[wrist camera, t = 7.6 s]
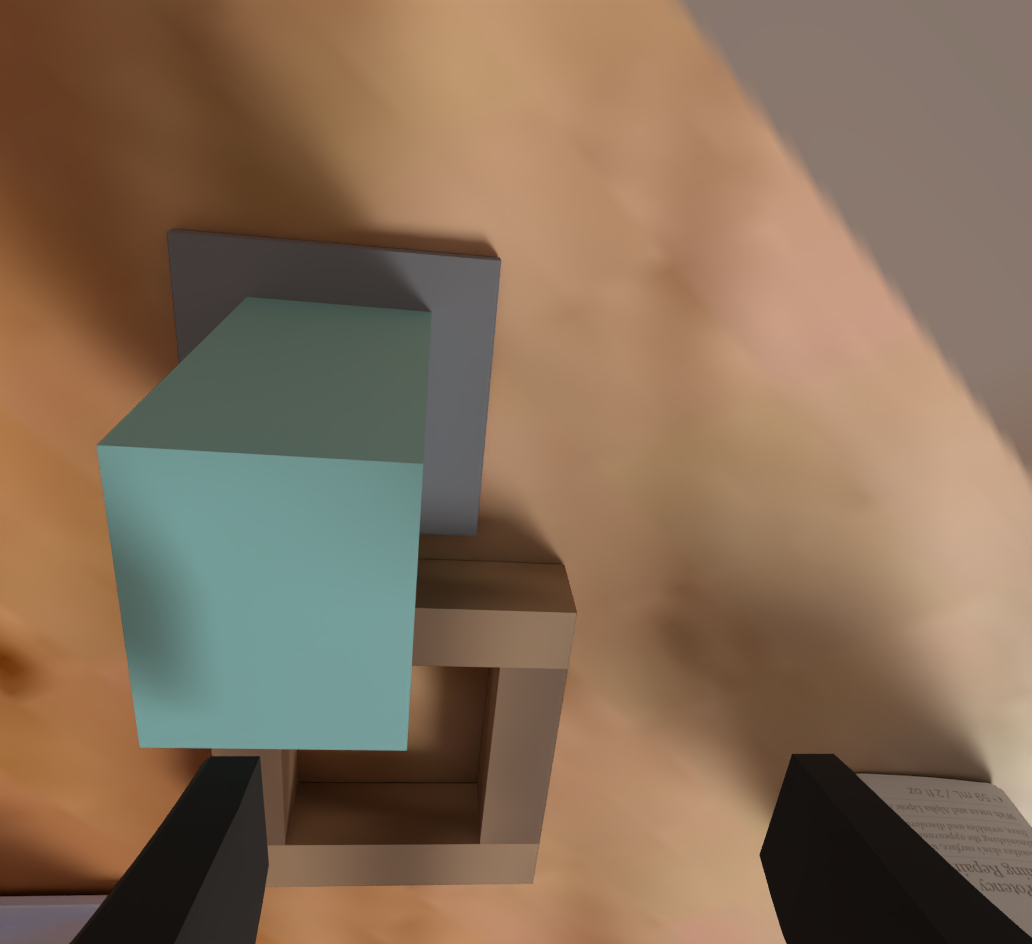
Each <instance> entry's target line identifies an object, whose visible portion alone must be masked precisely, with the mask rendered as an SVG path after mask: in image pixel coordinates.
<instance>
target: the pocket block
mask: <svg viewBox="0 0 1032 944" xmlns="http://www.w3.org/2000/svg"><path fill="white" fill-rule="evenodd" d="M576 617H577V611H576V607H575V603H574V599H573V596H572V592H571V588H570V584H569V580H568V577H567V573H566V569H565V565H563V564H538V563H512V562H486V561H460V560H434V559H418V565H417V583H416V600H415V617H414V635H413V652H412V666H457V667H489V675H488V684H487V693H486V703H485V712H484V721H483V731H482V740H481V749H480V758H479V768H478V777H477V783H298V753H297V749H226V748H211V751H212V756H260V760H261V772H262V784H263V797H264V809H265V821H266V834H267V846H268V859H269V867H268V873H267V879H266V885H265V887H314V886H393V885H473V884H533V880H534V874H535V867H536V861H537V855H538V849H539V843H540V837H541V831H542V825H543V818H544V812H545V806H546V800H547V794H548V788H549V782H550V776H551V770H552V763H553V757H554V751H555V745H556V739H557V733H558V727H559V721H560V714H561V708H562V702H563V696H564V690H565V684H566V678H567V672H568V665H569V659H570V653H571V647H572V641H573V635H574V629H575V623H576Z"/></svg>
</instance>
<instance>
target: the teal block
mask: <svg viewBox="0 0 1032 944" xmlns="http://www.w3.org/2000/svg"><path fill="white" fill-rule="evenodd" d="M431 316H432V312H425V311H413V310H401V309H389V308H376V307H364V306H352V305H340V304H328V303H315V302H303V301H291V300H279V299H267V298H254V297H246V298H245V299H244V300H243V301H242V302H241V303H240V304H239V305H238V306H237V307H236V308H235V309H234V310H233V311H232V312H231V313H230V314H229V315H228V316H227V317H226V318H225V319H224V320H223V321H222V322H221V323H220V324H219V325H218V326H217V327H216V328H215V329H214V330H213V331H212V332H211V333H210V334H209V335H208V336H207V337H206V338H205V339H204V340H203V341H202V342H201V343H200V344H199V345H198V346H197V347H196V348H195V349H194V350H193V351H192V352H191V353H190V354H189V355H187V356H186V357H185V358H184V359H183V360H182V361H181V362H180V363H179V364H178V365H177V366H176V367H175V368H174V369H173V370H172V371H171V372H170V373H169V374H168V375H167V376H166V377H165V378H164V379H163V380H162V381H161V382H160V383H159V384H158V385H157V386H156V387H155V388H154V389H153V390H152V391H151V392H150V393H149V394H148V395H147V396H146V397H145V398H144V399H143V400H142V401H141V402H140V403H139V404H138V405H137V406H136V407H135V408H134V409H133V410H132V411H131V412H130V413H129V414H128V415H127V416H126V417H125V418H124V419H123V420H122V421H120V422H119V423H118V424H117V425H116V426H115V427H114V428H113V429H112V430H111V431H110V432H109V433H108V434H107V435H106V436H105V437H104V438H103V439H102V440H101V441H100V442H99V443H98V444H97V452H98V459H99V466H100V473H101V480H102V487H103V494H104V501H105V508H106V515H107V522H108V529H109V536H110V542H111V549H112V556H113V563H114V570H115V577H116V584H117V591H118V598H119V605H120V612H121V619H122V626H123V633H124V640H125V647H126V654H127V661H128V668H129V675H130V682H131V689H132V696H133V703H134V710H135V717H136V724H137V731H138V738H139V745H140V747H141V748H226V749H312V750H397V751H407V739H408V722H409V704H410V687H411V670H412V652H413V635H414V617H415V600H416V583H417V565H418V548H419V530H420V513H421V496H422V478H423V461H424V443H425V425H426V407H427V389H428V370H429V352H430V334H431Z"/></svg>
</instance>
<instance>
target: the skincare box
mask: <svg viewBox="0 0 1032 944" xmlns="http://www.w3.org/2000/svg"><path fill="white" fill-rule="evenodd" d="M856 775H857V776H858V777H859V778H860V779H861V780H862V781H863V782H864V783H866V784H867V785H868V786H869V787H870V788H871V789H872V790H873V791H874V792H875V793H876V794H877V795H878V796H879V797H880V798H881V799H882V800H883V801H884V802H885V803H886V804H887V805H888V806H889V807H891V808H892V809H893V810H894V811H895V812H896V813H897V814H898V815H899V816H900V817H901V818H902V819H903V820H904V821H905V822H906V823H907V824H908V825H909V826H910V827H911V828H912V829H914V830H915V831H916V832H917V833H918V834H919V835H920V836H921V837H922V838H923V839H924V840H925V841H926V842H927V843H928V844H929V845H930V846H931V847H932V848H934V849H935V850H936V851H937V852H938V853H939V854H940V855H941V856H942V857H943V858H944V859H945V860H946V861H947V862H948V863H949V864H951V865H952V866H953V867H954V868H955V869H956V870H957V871H958V872H959V873H960V874H961V875H962V876H963V877H965V878H966V879H967V880H968V881H969V882H970V883H971V884H972V885H973V886H974V887H975V888H977V889H978V890H979V891H980V892H981V893H982V894H983V895H984V896H985V897H986V898H988V899H989V900H990V901H991V902H992V903H993V904H994V905H995V906H996V907H998V908H999V909H1000V910H1001V911H1002V912H1003V913H1004V914H1005V915H1007V916H1008V917H1009V918H1010V919H1011V920H1012V921H1013V922H1014V923H1016V924H1017V925H1018V926H1019V927H1020V928H1021V929H1022V930H1024V931H1025V932H1026V933H1027V934H1028V935H1029V936H1031V937H1032V827H1031V826H1030V825H1029V823H1028V822H1027V821H1026V820H1025V818H1024V817H1023V816H1022V814H1021V813H1020V812H1019V810H1018V809H1017V808H1016V807H1015V805H1014V804H1013V803H1012V801H1011V800H1010V799H1009V798H1008V796H1007V795H1006V794H1005V792H1004V791H1003V790H1002V789H1000V788H998V787H997V786H995V785H993V784H990V783H982V782H971V781H964V780H954V779H944V778H933V777H919V776H904V775H883V774H865V773H859V774H856Z"/></svg>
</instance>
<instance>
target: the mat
mask: <svg viewBox="0 0 1032 944" xmlns="http://www.w3.org/2000/svg"><path fill="white" fill-rule="evenodd" d="M167 240H168V250H169V261H170V272H171V283H172V293H173V304H174V315H175V326H176V336H177V347H178V358H179V363H180V362H181V361H182V360H183V359H184V358H185V357H186V356H187V355H189V354H190V353H191V352H192V351H193V350H194V349H195V348H196V347H197V346H198V345H199V344H200V343H201V342H202V341H203V340H204V339H205V338H206V337H207V336H208V335H209V334H210V333H211V332H212V331H213V330H214V329H215V328H216V327H217V326H218V325H219V324H220V323H221V322H222V321H223V320H224V319H225V318H226V317H227V316H228V315H229V314H230V313H231V312H232V311H233V310H234V309H235V308H236V307H237V306H238V305H239V304H240V303H241V302H242V301H243V300H244V299H245V298H246V297H254V298H267V299H279V300H291V301H303V302H315V303H328V304H340V305H352V306H364V307H376V308H389V309H401V310H413V311H425V312H432V316H431V334H430V352H429V370H428V389H427V407H426V425H425V443H424V461H423V478H422V496H421V513H420V530H419V534H430V535H453V536H476V534H477V523H478V512H479V501H480V490H481V479H482V467H483V456H484V445H485V434H486V423H487V412H488V401H489V390H490V378H491V367H492V356H493V345H494V334H495V323H496V312H497V300H498V289H499V278H500V267H501V259H500V258H499V257H487V256H476V255H464V254H453V253H441V252H430V251H419V250H407V249H396V248H384V247H373V246H361V245H350V244H338V243H327V242H316V241H304V240H293V239H281V238H270V237H258V236H247V235H235V234H224V233H212V232H201V231H190V230H178V229H172V230H170V231H168V232H167Z"/></svg>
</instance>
